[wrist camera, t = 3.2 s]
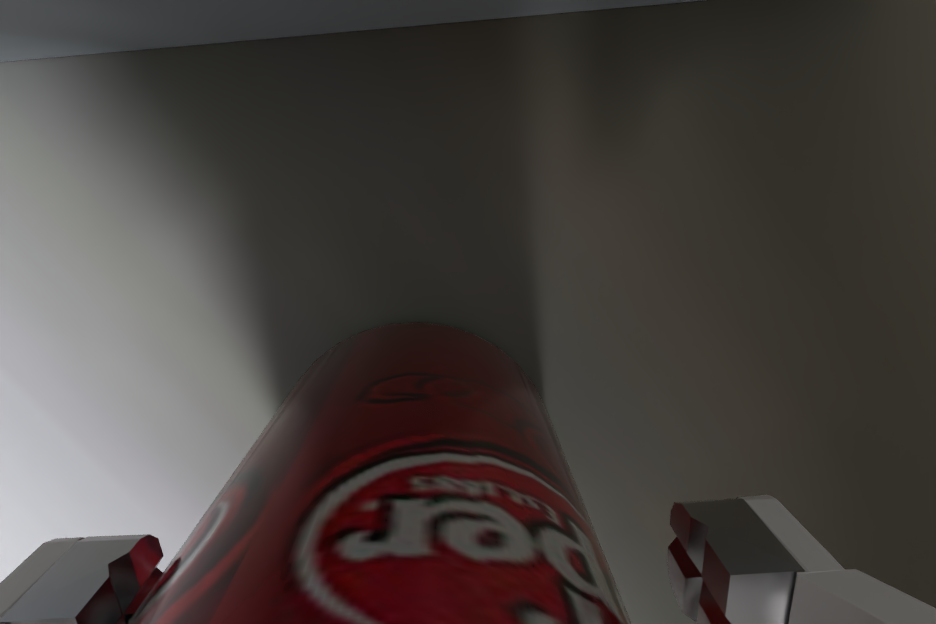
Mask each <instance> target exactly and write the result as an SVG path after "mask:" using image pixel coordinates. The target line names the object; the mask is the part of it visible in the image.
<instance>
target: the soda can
mask: <svg viewBox="0 0 936 624" xmlns="http://www.w3.org/2000/svg"><path fill="white" fill-rule="evenodd" d="M127 624H631V622H630V619H629V617H628V614H627V611H626V609H625V606H624V604H623V601H622V599H621V596H620V594H619V591H618V589H617V586H616V584H615V581H614V579H613V576H612V574H611V571H610V569H609V566H608V564H607V561H606V559H605V556H604V554H603V551H602V549H601V546H600V544H599V541H598V539H597V536H596V534H595V531H594V528H593V526H592V523H591V521H590V518H589V516H588V513H587V511H586V508H585V506H584V503H583V501H582V498H581V496H580V493H579V491H578V488H577V486H576V483H575V481H574V478H573V476H572V473H571V471H570V468H569V466H568V463H567V461H566V458H565V456H564V453H563V451H562V448H561V445H560V443H559V440H558V438H557V435H556V433H555V430H554V428H553V425H552V423H551V420H550V418H549V415H548V413H547V410H546V408H545V406H544V404H543V402H542V400H541V398H540V395H539V393H538V391H537V389H536V387H535V385H534V384H533V383H532V382H531V380H530V379H529V378H528V376H527V375H526V374H525V373H524V371H523V370H522V369H521V368H520V366H519V365H518V364H517V363H516V362H515V361H513V360H512V359H511V358H510V357H509V356H507V355H506V354H505V353H504V352H503V351H501V350H500V349H499V348H498V347H496V346H494V345H493V344H491V343H489V342H487V341H485V340H484V339H482V338H480V337H478V336H476V335H474V334H472V333H469V332H466V331H462V330H459V329H456V328H453V327H450V326H446V325H438V324H430V323H422V322H414V323H399V324H389V325H385V326H381V327H378V328H374V329H370V330H366V331H363V332H361V333H359V334H357V335H355V336H353V337H350V338H348V339H346V340H344V341H342V342H340V343H338V344H337V345H336V346H334V347H333V348H332V349H330V350H329V351H328V352H326V353H325V354H324V355H322V356H321V357H320V358H318V359H317V360H316V361H315V362H314V363H313V364H312V366H311V367H310V368H309V369H308V370H307V371H306V372H305V374H304V375H303V376H302V377H301V378H300V379H299V381H298V382H297V384H296V385H295V386H294V388H293V389H292V391H291V392H290V393H289V395H288V396H287V398H286V399H285V401H284V402H283V403H282V405H281V406H280V408H279V409H278V410H277V412H276V413H275V415H274V416H273V418H272V419H271V420H270V422H269V423H268V425H267V426H266V428H265V429H264V430H263V432H262V433H261V435H260V436H259V437H258V439H257V440H256V442H255V443H254V445H253V446H252V447H251V449H250V450H249V452H248V453H247V454H246V456H245V457H244V459H243V460H242V462H241V463H240V464H239V466H238V467H237V469H236V470H235V471H234V473H233V474H232V476H231V477H230V479H229V480H228V481H227V483H226V484H225V486H224V487H223V489H222V490H221V491H220V493H219V494H218V496H217V497H216V498H215V500H214V501H213V503H212V504H211V506H210V507H209V508H208V510H207V511H206V513H205V514H204V515H203V517H202V518H201V520H200V521H199V523H198V524H197V525H196V527H195V528H194V530H193V531H192V532H191V534H190V535H189V537H188V538H187V540H186V541H185V542H184V544H183V545H182V547H181V548H180V550H179V551H178V552H177V554H176V555H175V557H174V558H173V559H172V561H171V562H170V564H169V565H168V567H167V568H166V569H165V571H164V572H163V574H162V575H161V576H160V578H159V579H158V581H157V582H156V584H155V585H154V586H153V588H152V589H151V591H150V592H149V594H148V595H147V596H146V598H145V599H144V601H143V602H142V603H141V605H140V606H139V608H138V609H137V611H136V612H135V613H134V615H133V616H132V618H131V619H130V620H129V622H128V623H127Z"/></svg>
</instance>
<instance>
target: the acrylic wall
mask: <svg viewBox="0 0 936 624" xmlns="http://www.w3.org/2000/svg"><path fill="white" fill-rule="evenodd" d="M693 1H705V0H0V62H8V61H19V60H31V59H42V58H53V57H65V56H76V55H88V54H99V53H110V52H122V51H133V50H145V49H156V48H168V47H179V46H190V45H202V44H213V43H225V42H236V41H248V40H259V39H270V38H282V37H293V36H305V35H316V34H328V33H339V32H350V31H362V30H373V29H385V28H396V27H408V26H419V25H430V24H442V23H453V22H465V21H476V20H487V19H499V18H510V17H522V16H533V15H545V14H556V13H567V12H579V11H590V10H602V9H613V8H625V7H636V6H647V5H659V4H670V3H682V2H693Z"/></svg>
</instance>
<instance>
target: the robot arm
mask: <svg viewBox="0 0 936 624" xmlns="http://www.w3.org/2000/svg"><path fill="white" fill-rule="evenodd" d="M670 525H671V527H672V529H673V530H674V532H675V534H676V535H677V537H676V538H675V540H674V541H673V542H672V543H671V544H670V545H669V547H668V561H667V566H668V572H669V578H670V584H671V587H672V590H673V592H674V595H675V598H676V600H677V602H678V604H679V606H680V608H681V610H682V612H683V613H685V614H686V615H687V616H689V617H690V618H691V619H693V620H694V621H696V622H697V624H936V608H934V607H932V606H930V605H928V604H926V603H924V602H922V601H920V600H918V599H916V598H914V597H912V596H910V595H908V594H906V593H904V592H902V591H900V590H898V589H896V588H894V587H892V586H890V585H888V584H885V583H883V582H881V581H879V580H877V579H875V578H873V577H871V576H869V575H867V574H865V573H863V572H861V571H859V570H857V569H846V570H845V569H844V568H843V567H842V566H841V565H840V564H839V563H838V562H837V561H836V560H835V559H834V557H833V556H832V555H831V554H830V553H829V552H828V551H827V550H826V549H825V548H824V547H823V546H822V545H821V544H820V543H819V542H818V541H817V540H816V539H815V538H814V537H813V536H812V535H811V534H810V533H809V532H808V531H807V530H806V529H805V528H804V527H803V526H802V525H801V523H800V522H799V521H798V520H797V519H796V518H795V517H794V516H793V515H792V514H791V513H790V512H789V511H788V510H787V509H786V508H785V507H784V506H783V505H782V504H781V503H780V502H779V501H778V500H777V499H776V498H774V497H772V496H770V495H757V496H746V497H737V498H736V499H720V500H705V501H690V502H675V503H674V505H673V507H672V510H671V517H670ZM162 557H163V553H162V549H161V546H160V543H159V540H158V538H156V537H154V536H151V535H123V536H96V537H86V538H82V537H80V538H60V539H54V540H51V541H48V542H46V543H43V544H42V545H41V546H40V547H39V548H38V549H37V550H35V551H34V552H33V553H32V554H31V555H30V556H29V557H28V558H27V559H26V560H25V561H24V562H23V563H22V564H20V565H19V566H18V567H17V568H16V569H15V570H14V571H13V572H12V573H11V574H10V575H9V576H8V577H6V578H5V579H4V580H3V581H2V582H1V583H0V624H127V623H128V622H129V620H130V619H131V618H132V616H133V615H134V613H135V612H136V611H137V609H138V608H139V606H140V605H141V603H142V602H143V601H144V599H145V598H146V596H147V595H148V594H149V592H150V591H151V589H152V588H153V586H154V585H155V584H156V582H157V581H158V579H159V578H160V576H161V575H162V574H163V573H162V572H161V571H160V570H159V569H158V568H157V566H158V564H159V563H160V561H161V559H162Z"/></svg>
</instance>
